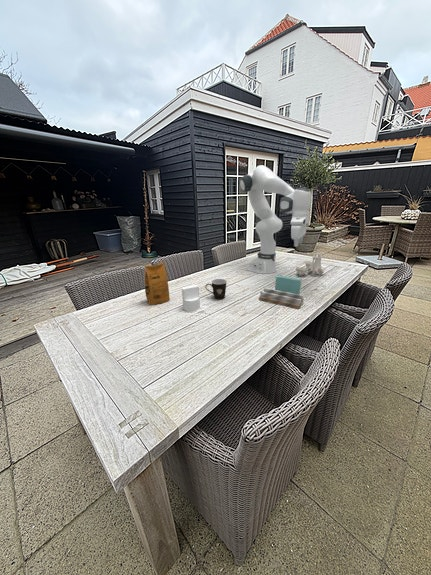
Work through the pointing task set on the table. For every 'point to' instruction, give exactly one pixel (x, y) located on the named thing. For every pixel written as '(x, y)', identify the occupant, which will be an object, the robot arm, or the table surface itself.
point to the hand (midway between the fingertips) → (298, 244)
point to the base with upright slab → (191, 298)
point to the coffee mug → (218, 288)
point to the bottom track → (281, 298)
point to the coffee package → (156, 284)
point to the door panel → (288, 284)
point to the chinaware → (312, 267)
